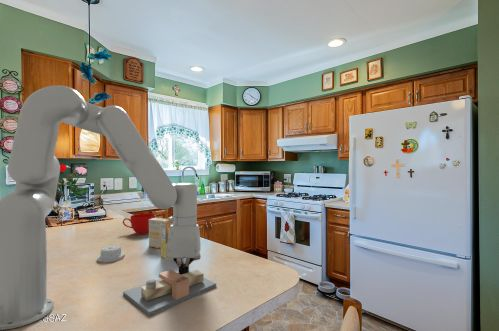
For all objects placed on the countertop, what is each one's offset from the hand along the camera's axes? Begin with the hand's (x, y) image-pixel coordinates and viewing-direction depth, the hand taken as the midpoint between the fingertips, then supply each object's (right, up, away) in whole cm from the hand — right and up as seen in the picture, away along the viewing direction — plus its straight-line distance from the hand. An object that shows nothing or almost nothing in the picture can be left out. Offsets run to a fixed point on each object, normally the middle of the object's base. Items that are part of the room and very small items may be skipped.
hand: (183, 277), depth 84 cm
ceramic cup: (-41, -2, +63) cm, 76 cm away
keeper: (-1, -1, -8) cm, 8 cm away
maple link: (-1, 0, -7) cm, 7 cm away
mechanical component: (-36, -2, +23) cm, 43 cm away
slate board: (-2, -2, -5) cm, 6 cm away
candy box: (-11, -2, +26) cm, 29 cm away
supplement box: (-22, -2, +39) cm, 44 cm away
